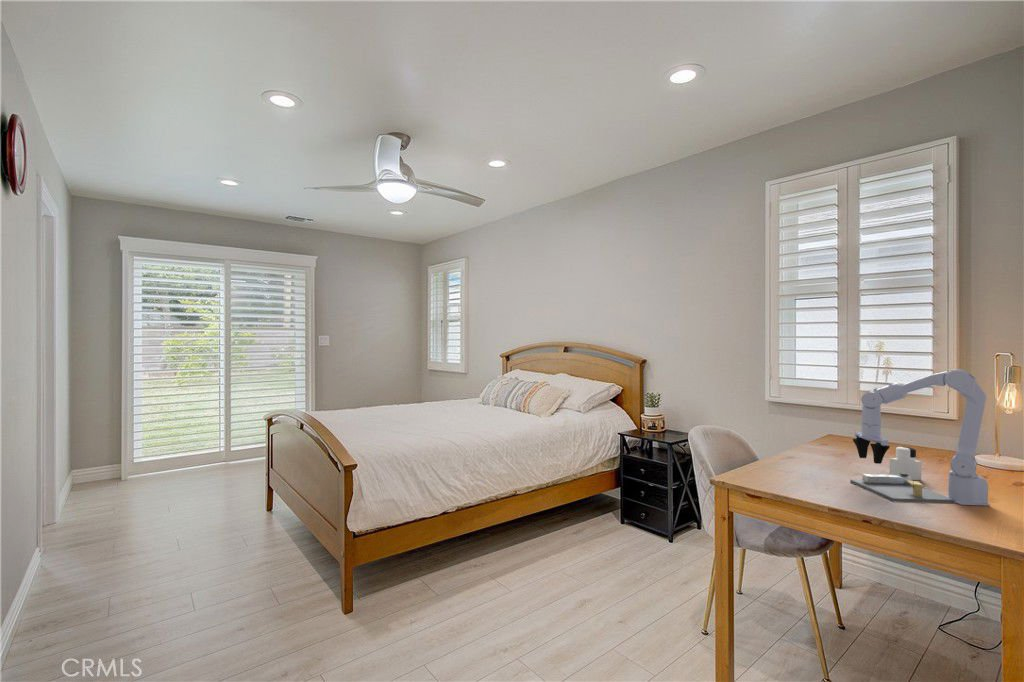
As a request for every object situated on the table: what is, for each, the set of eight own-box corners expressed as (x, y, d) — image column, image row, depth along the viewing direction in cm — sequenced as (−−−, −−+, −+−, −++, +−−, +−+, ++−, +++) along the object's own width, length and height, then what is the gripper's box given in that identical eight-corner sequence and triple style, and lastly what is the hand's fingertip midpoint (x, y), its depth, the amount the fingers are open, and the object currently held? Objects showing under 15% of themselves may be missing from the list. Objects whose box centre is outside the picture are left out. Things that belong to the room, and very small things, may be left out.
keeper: (906, 491, 169) (907, 479, 169) (918, 492, 168) (918, 480, 168) (912, 496, 164) (912, 483, 163) (924, 497, 162) (924, 485, 162)
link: (905, 481, 180) (905, 474, 180) (913, 484, 176) (914, 477, 176) (861, 480, 181) (861, 473, 181) (869, 483, 177) (869, 476, 177)
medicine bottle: (901, 474, 194) (902, 444, 193) (921, 479, 187) (922, 448, 187) (889, 476, 191) (889, 445, 191) (908, 481, 184) (909, 450, 184)
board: (904, 483, 182) (904, 471, 182) (954, 502, 161) (954, 488, 161) (850, 482, 182) (850, 470, 182) (892, 501, 161) (893, 487, 161)
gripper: (846, 420, 187) (846, 455, 187) (874, 427, 172) (873, 465, 173) (865, 420, 187) (864, 455, 187) (894, 428, 172) (893, 466, 172)
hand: (870, 460), depth 180 cm, fingers open, 7 cm apart
